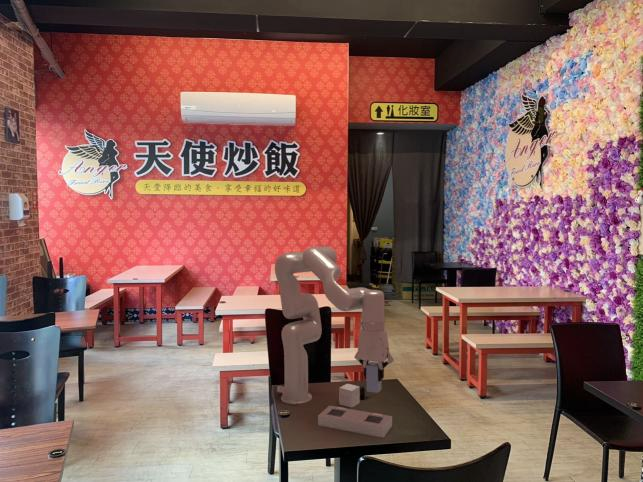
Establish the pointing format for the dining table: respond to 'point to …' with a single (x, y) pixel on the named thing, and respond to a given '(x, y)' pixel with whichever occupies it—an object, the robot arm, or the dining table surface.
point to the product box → (349, 395)
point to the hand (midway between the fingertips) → (373, 378)
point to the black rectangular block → (363, 393)
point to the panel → (355, 421)
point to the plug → (372, 377)
